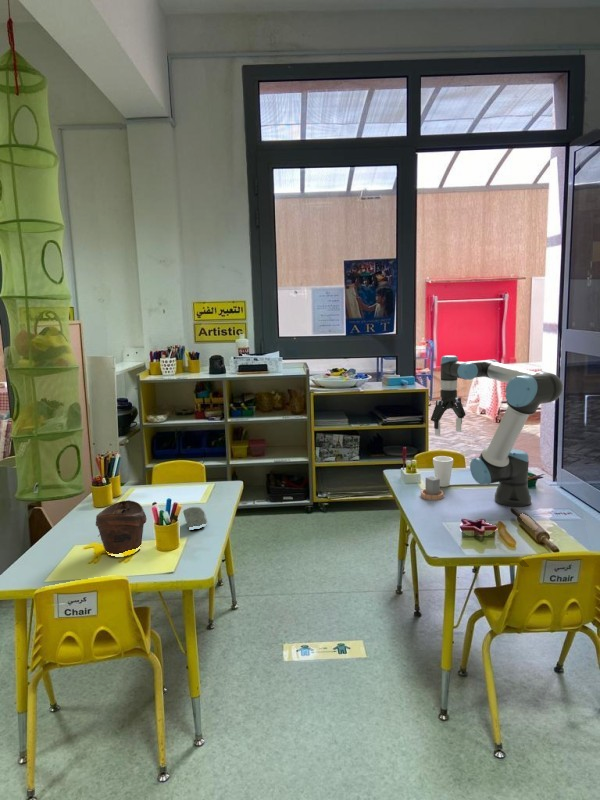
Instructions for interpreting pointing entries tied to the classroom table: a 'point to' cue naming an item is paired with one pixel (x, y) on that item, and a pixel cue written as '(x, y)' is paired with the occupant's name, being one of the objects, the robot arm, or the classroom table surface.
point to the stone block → (432, 486)
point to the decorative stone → (195, 516)
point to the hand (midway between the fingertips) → (448, 433)
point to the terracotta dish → (432, 497)
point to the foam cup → (443, 469)
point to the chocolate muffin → (121, 526)
